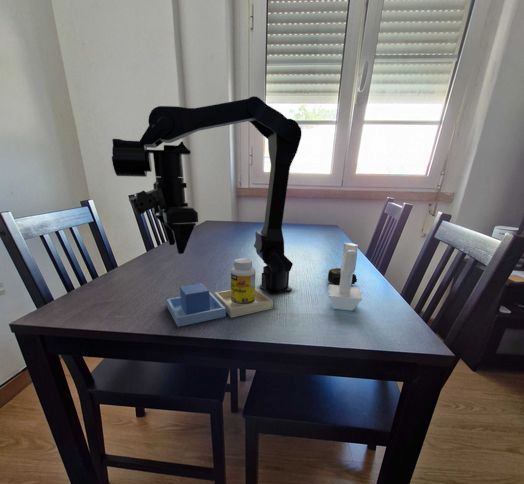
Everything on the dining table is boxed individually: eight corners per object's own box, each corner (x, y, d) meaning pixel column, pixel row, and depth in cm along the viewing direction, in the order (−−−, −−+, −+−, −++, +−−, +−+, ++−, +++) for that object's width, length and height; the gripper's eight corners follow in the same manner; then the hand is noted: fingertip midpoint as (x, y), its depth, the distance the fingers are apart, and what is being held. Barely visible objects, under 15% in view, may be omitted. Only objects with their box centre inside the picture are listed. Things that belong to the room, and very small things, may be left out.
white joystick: (356, 299, 70) (366, 240, 65) (360, 316, 62) (371, 249, 56) (327, 296, 72) (333, 238, 66) (326, 312, 63) (334, 247, 58)
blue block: (203, 303, 65) (202, 283, 63) (210, 312, 61) (209, 290, 59) (181, 307, 63) (179, 286, 61) (187, 316, 59) (185, 294, 57)
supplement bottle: (226, 303, 65) (225, 261, 62) (239, 295, 70) (239, 255, 66) (246, 309, 63) (246, 265, 59) (259, 300, 67) (260, 259, 64)
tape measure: (333, 288, 77) (334, 275, 76) (323, 279, 83) (324, 267, 82) (356, 287, 78) (358, 274, 77) (344, 278, 85) (346, 267, 83)
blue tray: (210, 299, 69) (210, 291, 68) (225, 316, 60) (225, 308, 60) (167, 307, 64) (166, 299, 63) (177, 327, 56) (176, 318, 55)
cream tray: (252, 293, 73) (252, 285, 72) (272, 308, 64) (272, 300, 64) (214, 300, 68) (214, 292, 67) (231, 317, 60) (231, 309, 59)
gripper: (124, 176, 64) (134, 243, 69) (133, 177, 49) (144, 263, 54) (174, 177, 69) (180, 240, 75) (196, 178, 54) (201, 257, 59)
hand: (176, 249), depth 66 cm, fingers open, 9 cm apart
